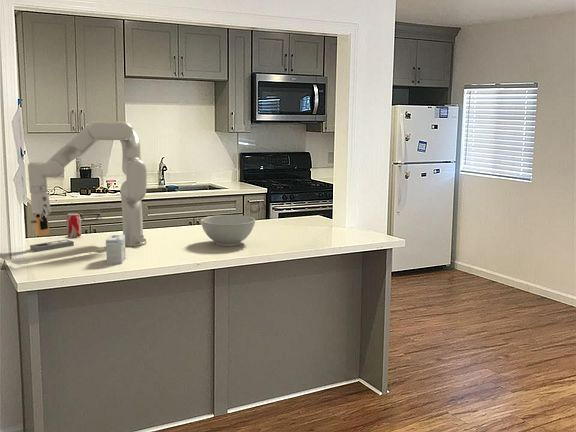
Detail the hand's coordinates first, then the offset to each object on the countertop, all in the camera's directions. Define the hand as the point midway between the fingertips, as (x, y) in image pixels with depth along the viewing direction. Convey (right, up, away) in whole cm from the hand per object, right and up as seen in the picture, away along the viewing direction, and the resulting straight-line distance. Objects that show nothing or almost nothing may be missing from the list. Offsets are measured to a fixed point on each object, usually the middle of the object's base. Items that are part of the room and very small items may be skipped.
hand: (41, 228), depth 300 cm
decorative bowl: (+84, -8, +22) cm, 87 cm away
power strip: (+3, -11, +5) cm, 12 cm away
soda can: (+3, -5, +37) cm, 37 cm away
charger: (0, -3, +1) cm, 3 cm away
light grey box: (+38, -14, -14) cm, 43 cm away
